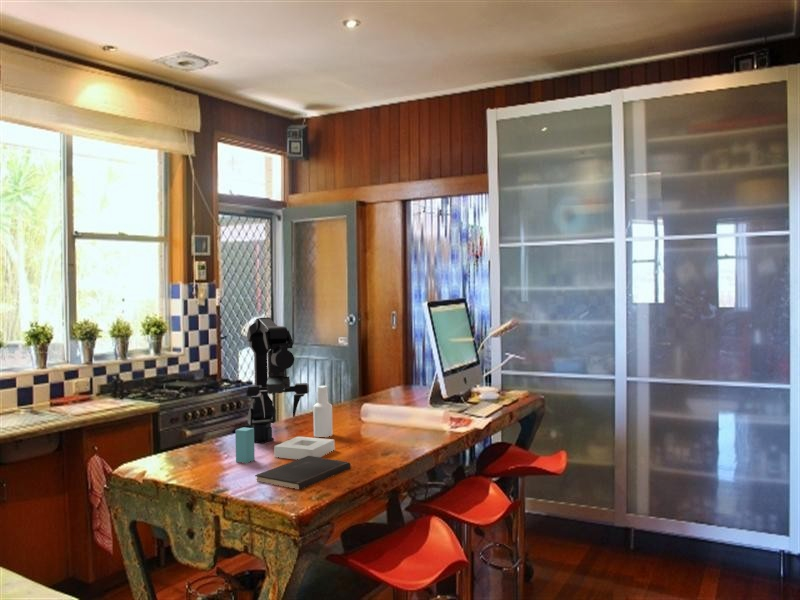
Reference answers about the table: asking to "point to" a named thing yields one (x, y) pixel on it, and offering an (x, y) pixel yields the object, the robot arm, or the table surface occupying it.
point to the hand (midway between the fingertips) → (278, 417)
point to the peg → (244, 445)
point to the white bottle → (322, 414)
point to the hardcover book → (303, 472)
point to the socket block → (304, 447)
